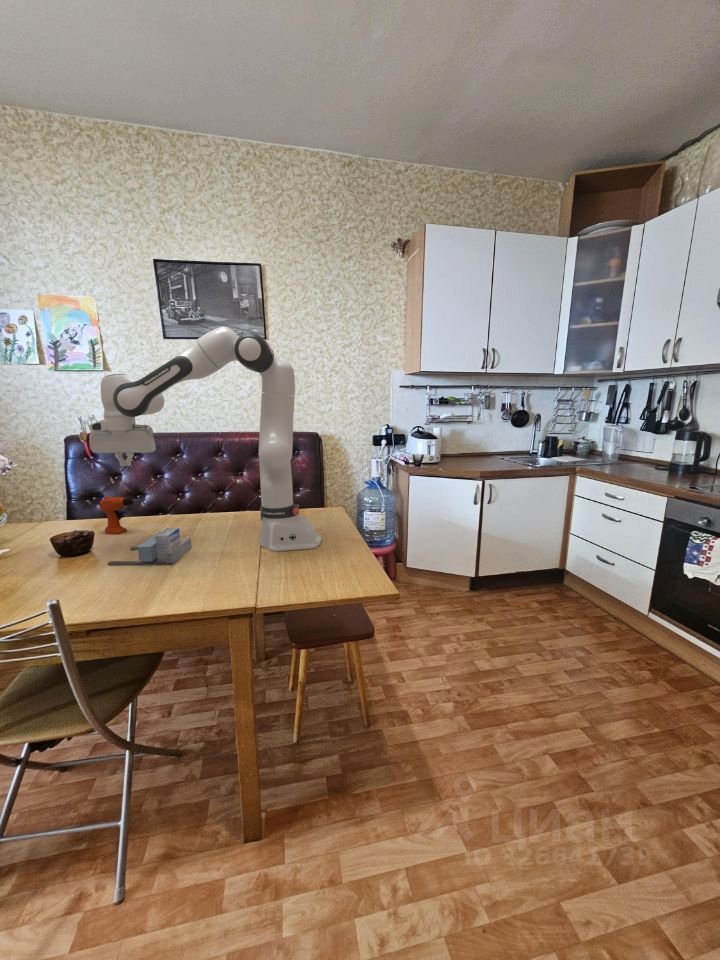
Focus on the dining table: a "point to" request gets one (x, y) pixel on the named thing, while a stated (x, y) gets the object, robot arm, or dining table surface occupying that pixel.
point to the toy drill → (115, 512)
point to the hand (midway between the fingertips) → (125, 465)
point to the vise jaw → (148, 550)
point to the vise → (171, 555)
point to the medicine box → (166, 541)
